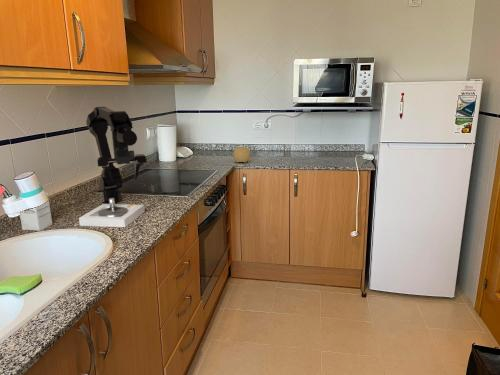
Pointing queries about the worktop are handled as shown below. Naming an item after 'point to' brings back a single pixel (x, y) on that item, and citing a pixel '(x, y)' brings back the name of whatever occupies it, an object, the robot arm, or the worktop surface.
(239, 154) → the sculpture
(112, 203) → the dial
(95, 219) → the bezel
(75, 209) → the worktop surface
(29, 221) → the supplement box
